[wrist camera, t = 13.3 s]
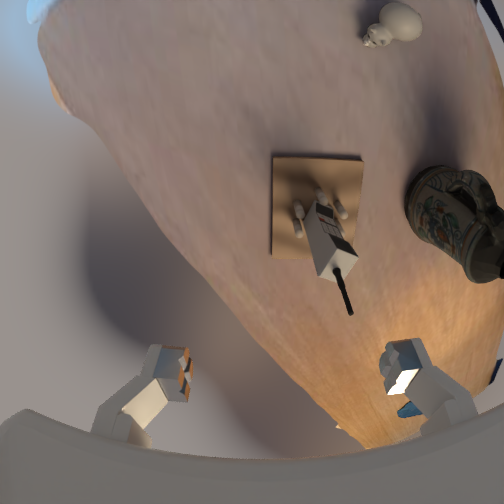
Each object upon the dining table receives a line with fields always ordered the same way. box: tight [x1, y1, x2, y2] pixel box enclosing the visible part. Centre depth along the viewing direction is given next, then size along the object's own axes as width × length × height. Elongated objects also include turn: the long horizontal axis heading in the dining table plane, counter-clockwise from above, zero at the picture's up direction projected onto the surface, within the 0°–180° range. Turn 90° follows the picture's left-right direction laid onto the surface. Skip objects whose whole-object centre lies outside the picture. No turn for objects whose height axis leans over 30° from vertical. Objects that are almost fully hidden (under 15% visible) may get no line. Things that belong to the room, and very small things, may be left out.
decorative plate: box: [397, 402, 423, 418], centre depth 98 cm, size 30×30×5 cm
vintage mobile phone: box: [303, 200, 359, 316], centre depth 40 cm, size 4×5×25 cm
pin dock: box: [272, 157, 364, 259], centre depth 49 cm, size 20×16×6 cm
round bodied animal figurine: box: [363, 2, 422, 48], centre depth 29 cm, size 7×12×8 cm, turn 133°
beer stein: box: [405, 165, 504, 284], centre depth 38 cm, size 16×19×25 cm
